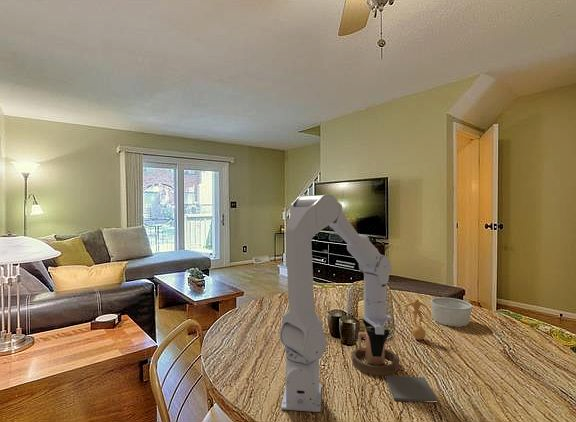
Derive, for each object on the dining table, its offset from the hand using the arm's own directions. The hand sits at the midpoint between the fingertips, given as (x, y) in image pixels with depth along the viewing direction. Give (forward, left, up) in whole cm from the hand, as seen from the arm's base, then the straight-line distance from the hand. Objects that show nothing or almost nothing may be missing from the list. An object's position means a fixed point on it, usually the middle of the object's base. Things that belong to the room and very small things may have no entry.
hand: (374, 350), depth 82 cm
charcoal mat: (-11, -6, -3) cm, 13 cm away
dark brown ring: (0, 0, -3) cm, 3 cm away
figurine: (+18, -16, -3) cm, 24 cm away
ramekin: (+34, -32, -4) cm, 47 cm away
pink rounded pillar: (0, 0, -2) cm, 2 cm away
